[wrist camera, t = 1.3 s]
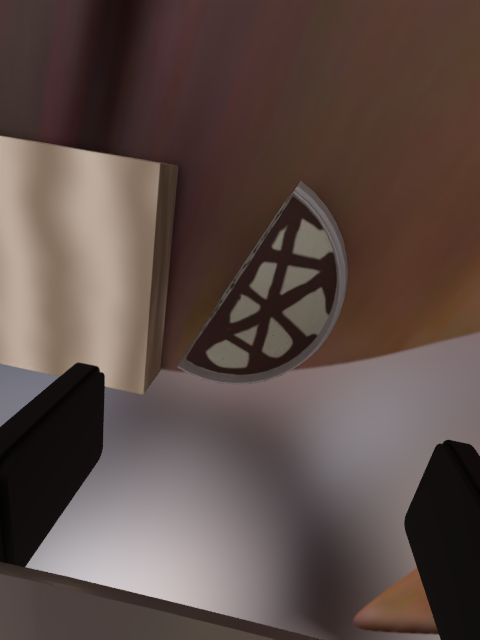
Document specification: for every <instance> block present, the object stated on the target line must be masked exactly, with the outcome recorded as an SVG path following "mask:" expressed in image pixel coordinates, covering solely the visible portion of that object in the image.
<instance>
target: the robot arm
mask: <svg viewBox="0 0 480 640" xmlns="http://www.w3.org/2000/svg"><path fill="white" fill-rule="evenodd" d="M104 388H105V375H104V373H103V372H100V369H99V367H98V366H94V365H89V364H85V363H80V362H77V363H76V364H74V365H73V366H72V367H71V368H69V369H68V370H67V371H66V372H65V373H64V374H62V375H61V376H60V377H59V378H58V379H57V380H55V381H54V382H53V383H52V384H51V385H49V386H48V387H47V388H46V389H45V390H43V391H42V392H41V393H40V394H39V395H38V396H36V397H35V398H34V399H33V400H32V401H30V402H29V403H28V404H27V405H26V406H25V407H23V408H22V409H21V410H20V411H19V412H17V413H16V414H15V415H14V416H13V417H12V418H10V419H9V420H8V421H7V422H6V423H5V424H3V425H2V426H1V427H0V640H324V639H319V638H316V637H312V636H307V635H303V634H299V633H295V632H291V631H287V630H283V629H279V628H275V627H271V626H267V625H263V624H259V623H255V622H251V621H247V620H243V619H239V618H235V617H231V616H227V615H223V614H219V613H215V612H211V611H207V610H203V609H198V608H194V607H191V606H186V605H182V604H178V603H174V602H170V601H166V600H162V599H158V598H154V597H149V596H145V595H141V594H137V593H133V592H129V591H125V590H120V589H116V588H112V587H108V586H103V585H99V584H96V583H91V582H87V581H83V580H79V579H75V578H71V577H66V576H62V575H57V574H53V573H48V572H44V571H39V570H34V569H30V568H26V567H25V566H26V565H27V563H28V562H29V561H30V559H31V557H32V556H33V555H34V553H35V552H36V550H37V549H38V547H39V546H40V544H41V543H42V542H43V540H44V539H45V537H46V536H47V534H48V533H49V532H50V530H51V529H52V527H53V526H54V524H55V523H56V521H57V520H58V518H59V517H60V516H61V514H62V513H63V511H64V510H65V508H66V507H67V505H68V504H69V503H70V501H71V500H72V498H73V497H74V495H75V493H76V492H77V491H78V490H79V488H80V486H81V485H82V483H83V482H84V481H85V479H86V478H87V476H88V475H89V474H90V472H91V471H92V469H93V468H94V466H95V465H96V463H97V462H98V460H99V458H100V456H101V453H102V449H103V422H104ZM404 523H405V531H406V534H407V537H408V540H409V543H410V546H411V550H412V553H413V556H414V559H415V562H416V565H417V568H418V571H419V574H420V577H421V580H422V583H423V586H424V590H425V593H426V596H427V599H428V602H429V605H430V608H431V611H432V614H433V617H434V620H435V623H436V626H437V629H438V633H439V636H440V638H441V640H480V456H479V455H478V453H477V452H476V450H475V449H474V447H472V445H470V444H466V443H461V442H456V441H452V440H446V441H444V442H443V444H438V445H437V446H436V447H435V449H434V451H433V454H432V456H431V459H430V461H429V463H428V465H427V467H426V470H425V472H424V474H423V477H422V479H421V481H420V484H419V486H418V488H417V490H416V493H415V495H414V498H413V500H412V502H411V504H410V507H409V509H408V511H407V513H406V516H405V522H404Z"/></svg>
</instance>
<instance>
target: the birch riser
mask: <svg viewBox="0 0 480 640" xmlns="http://www.w3.org/2000/svg"><path fill="white" fill-rule="evenodd" d="M178 167H179V166H178V165H172V164H166V163H160V162H154V161H148V160H142V159H137V158H131V157H125V156H119V155H113V154H107V153H102V152H96V151H90V150H84V149H78V148H72V147H66V146H61V145H55V144H49V143H43V142H37V141H31V140H26V139H20V138H14V137H8V136H2V135H0V364H4V365H9V366H14V367H18V368H23V369H27V370H32V371H37V372H41V373H46V374H50V375H55V376H61V375H62V374H64V373H65V372H66V371H67V370H68V369H69V368H71V367H72V366H73V365H74V364H76V363H77V362H80V363H85V364H89V365H94V366H98V367H99V369H100V372H103V373H104V375H105V386H106V387H110V388H115V389H119V390H124V391H129V392H133V393H138V394H142V395H143V394H144V393H145V391H146V390H147V389H148V387H149V386H150V385H151V383H152V382H153V380H154V379H155V377H156V376H157V375H158V373H159V372H160V368H161V357H162V346H163V335H164V324H165V312H166V301H167V290H168V279H169V268H170V257H171V245H172V234H173V223H174V212H175V201H176V190H177V178H178Z"/></svg>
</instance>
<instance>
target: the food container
mask: <svg viewBox="0 0 480 640" xmlns="http://www.w3.org/2000/svg"><path fill="white" fill-rule="evenodd" d="M347 280H348V264H347V255H346V250H345V245H344V241H343V238H342V235H341V233H340V230H339V228H338V225H337V223H336V221H335V220H334V218H333V216H332V215H331V213H330V211H329V210H328V208H327V206H326V205H325V204H324V203H323V202H322V201H321V199H320V198H319V197H318V196H317V195H316V194H315V192H314V191H312V190H311V189H310V188H309V187H308V186H306V185H305V184H304V183H303V182H302V181H300V182H299V184H298V186H297V187H296V189H295V190H294V192H293V193H292V194H291V195H290V196H289V197H288V198H287V199H286V201H285V202H284V204H283V205H282V207H281V208H280V210H279V211H278V213H277V214H276V216H275V217H274V219H273V220H272V222H271V223H270V225H269V226H268V228H267V229H266V231H265V233H264V234H263V236H262V237H261V239H260V240H259V242H258V243H257V245H256V246H255V248H254V249H253V251H252V252H251V254H250V255H249V257H248V258H247V260H246V261H245V263H244V264H243V266H242V267H241V269H240V270H239V272H238V273H237V275H236V276H235V278H234V279H233V281H232V282H231V284H230V285H229V287H228V288H227V290H226V291H225V293H224V295H223V296H222V298H221V299H220V301H219V302H218V304H217V305H216V307H215V308H214V310H213V312H212V313H211V315H210V316H209V318H208V320H207V321H206V323H205V324H204V326H203V327H202V329H201V331H200V332H199V334H198V335H197V337H196V338H195V340H194V342H193V343H192V345H191V346H190V348H189V350H188V351H187V353H186V354H185V356H184V357H183V359H182V360H181V362H180V364H179V365H178V368H180V369H181V370H183V371H185V372H187V373H189V374H191V375H194V376H196V377H199V378H202V379H204V380H208V381H213V382H217V383H225V384H252V383H257V382H262V381H266V380H269V379H272V378H275V377H278V376H281V375H283V374H284V373H286V372H288V371H290V370H292V369H294V368H296V367H298V366H299V365H300V364H302V363H303V362H304V361H306V360H307V359H308V358H310V357H311V356H312V355H313V354H314V353H315V352H316V351H317V350H318V349H319V348H320V347H321V346H322V344H323V343H324V341H325V340H326V339H327V337H328V336H329V334H330V333H331V331H332V329H333V327H334V325H335V323H336V321H337V319H338V317H339V314H340V312H341V308H342V305H343V302H344V298H345V295H346V289H347Z"/></svg>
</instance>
